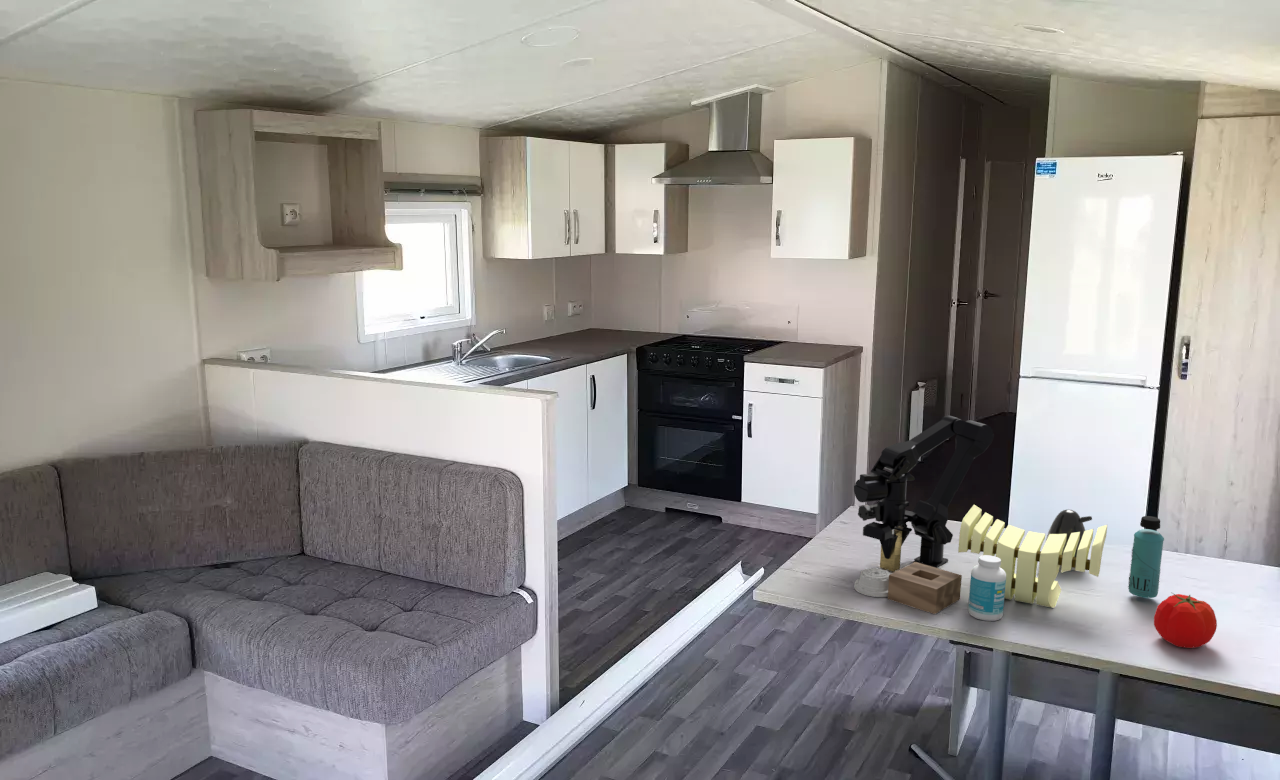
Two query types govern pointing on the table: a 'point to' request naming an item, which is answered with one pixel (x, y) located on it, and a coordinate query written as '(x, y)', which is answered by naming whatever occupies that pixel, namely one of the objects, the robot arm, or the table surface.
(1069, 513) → the pump dispenser
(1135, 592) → the beverage bottle
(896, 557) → the brushed gold block
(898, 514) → the robot arm
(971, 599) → the pill bottle
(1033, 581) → the slatted curved stool
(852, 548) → the table surface
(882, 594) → the mechanical component
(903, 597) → the slotted wooden block
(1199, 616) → the tomato
